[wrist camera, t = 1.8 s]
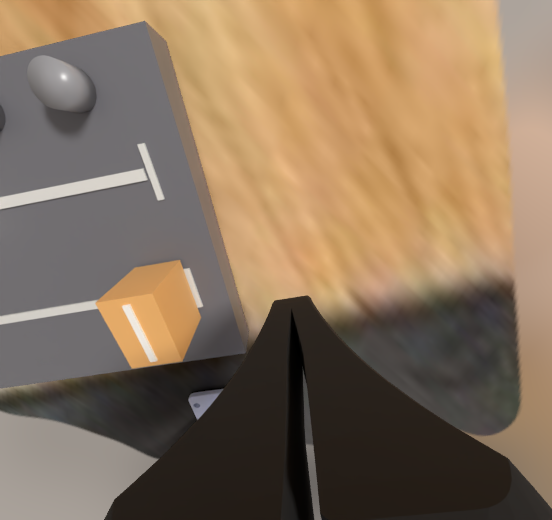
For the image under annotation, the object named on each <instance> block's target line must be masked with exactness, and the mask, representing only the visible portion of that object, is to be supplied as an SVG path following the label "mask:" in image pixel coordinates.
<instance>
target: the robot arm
mask: <svg viewBox="0 0 552 520" xmlns="http://www.w3.org/2000/svg"><path fill="white" fill-rule="evenodd" d="M302 366H303V368H302ZM303 370H304V375H305V379H306V383H307V389H308V398H309V407H310V416H311V425H312V435H313V444H314V453H315V463H316V473H317V482H318V494H319V505H320V514H321V518H322V520H552V509H551V508H550V506H549V505H548V504H547V503H546V501H545V500H544V499H543V498H542V497H541V496H540V494H539V493H538V492H537V491H536V490H535V488H534V487H533V486H532V485H531V484H530V483H529V482H528V481H527V480H526V478H525V477H524V476H523V475H522V474H521V473H520V472H519V470H518V469H517V468H516V467H515V466H514V465H513V464H512V463H511V461H510V460H509V459H508V458H506V457H505V456H503V455H501V454H500V453H498V452H496V451H494V450H493V449H491V448H489V447H488V446H486V445H484V444H482V443H481V442H479V441H477V440H475V439H474V438H472V437H471V436H469V435H467V434H465V433H464V432H462V431H460V430H459V429H457V428H455V427H454V426H452V425H450V424H449V423H447V422H446V421H444V420H443V419H441V418H440V417H438V416H437V415H435V414H434V413H432V412H431V411H429V410H427V409H426V408H424V407H423V406H421V405H420V404H419V403H417V402H416V401H414V400H413V399H412V398H410V397H409V396H408V395H406V394H405V393H404V392H402V391H401V390H399V389H398V388H397V387H395V386H394V385H393V384H391V383H390V382H388V381H387V380H386V379H385V378H383V377H382V376H381V375H380V374H379V373H377V372H376V371H375V370H374V369H372V368H371V367H370V366H369V365H368V364H367V363H366V362H364V361H363V360H362V359H361V358H360V357H359V356H358V355H357V354H356V353H355V352H354V351H353V350H352V349H351V348H349V347H348V345H347V344H346V343H345V342H344V341H343V340H342V339H341V338H340V337H339V336H338V335H337V334H336V333H335V332H334V330H333V329H332V328H331V327H330V326H329V324H328V323H327V322H326V321H325V319H324V318H323V317H322V316H321V314H320V313H319V311H318V310H317V308H316V307H315V305H314V304H313V302H312V300H311V298H310V297H309V296H301V297H295V298H288V299H282V300H275V301H274V302H273V304H272V307H271V309H270V312H269V314H268V317H267V319H266V321H265V323H264V325H263V327H262V329H261V331H260V333H259V335H258V337H257V339H256V341H255V343H254V344H253V346H252V348H251V349H250V351H249V353H248V354H247V356H246V358H245V359H244V361H243V362H242V364H241V366H240V367H239V369H238V370H237V371H236V373H235V374H234V376H233V377H232V378H231V380H230V381H229V383H228V384H227V385H226V387H225V388H224V389H218V390H211V391H203V392H196V393H192V394H190V396H189V399H188V401H189V403H190V405H191V407H192V410H193V412H194V414H195V416H196V418H197V421H196V422H195V423H194V424H193V425H192V426H191V427H190V428H189V430H188V431H187V432H186V433H185V434H184V435H183V436H182V437H181V438H180V439H179V440H178V441H177V442H176V443H175V444H174V445H173V446H172V447H171V448H170V449H169V450H168V451H167V452H166V453H165V454H164V455H163V456H162V457H161V458H160V459H159V460H158V461H157V462H156V463H154V464H153V465H152V466H151V467H150V468H149V469H148V470H147V471H146V472H145V473H144V474H142V475H141V476H140V477H139V478H138V479H137V480H136V481H135V482H134V483H133V484H131V485H130V486H129V487H128V488H127V489H126V490H125V491H124V492H123V493H121V494H120V495H119V496H118V497H117V498H116V499H115V500H114V502H113V504H112V506H111V508H110V509H109V511H108V513H107V516H106V517H105V519H104V520H314V514H313V506H312V497H311V489H310V480H309V471H308V462H307V453H306V444H305V429H304V398H303Z"/></svg>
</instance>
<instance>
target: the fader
mask: <svg viewBox="0 0 552 520" xmlns="http://www.w3.org/2000/svg"><path fill="white" fill-rule="evenodd" d="M95 304H96V306H97V308H98V309H99V311H100V313H101V315H102V316H103V318H104V320H105V322H106V324H107V325H108V327H109V329H110V331H111V332H112V334H113V336H114V338H115V340H116V341H117V343H118V345H119V347H120V349H121V350H122V352H123V354H124V356H125V357H126V359H127V361H128V363H129V365H130V366H131V368H132V369H133V368H140V367H147V366H154V365H161V364H168V363H175V362H182V361H183V359H184V357H185V354H186V352H187V350H188V347H189V345H190V343H191V340H192V338H193V335H194V333H195V331H196V328H197V326H198V324H199V321H200V319H201V316H200V313H199V310H198V308H197V305H196V302H195V299H194V297H193V294H192V291H191V289H190V286H189V283H188V281H187V278H186V275H185V272H184V270H183V267H182V264H181V262H180V260H176V261H170V262H164V263H159V264H153V265H147V266H141V267H136V268H134V269H133V270H132V271H130V272H129V273H128V274H127V275H126V276H125V277H124V278H123V279H121V280H120V281H119V282H118V283H117V284H116V285H115V286H114V287H112V288H111V289H110V290H109V291H108V292H107V293H106V294H104V295H103V296H102V297H101V298H100V299H99V300H98V301H97V302H95Z"/></svg>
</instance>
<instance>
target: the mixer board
mask: <svg viewBox="0 0 552 520" xmlns="http://www.w3.org/2000/svg"><path fill="white" fill-rule="evenodd" d="M176 260H180V262H181V264H182V267H183V270H184V272H185V275H186V278H187V281H188V283H189V286H190V289H191V291H192V294H193V297H194V299H195V302H196V305H197V308H198V310H199V313H200V316H201V319H200V321H199V324H198V326H197V328H196V331H195V333H194V335H193V338H192V340H191V343H190V345H189V347H188V350H187V352H186V354H185V357H184V359H183V361H182V362H188V361H194V360H201V359H208V358H215V357H222V356H229V355H236V354H243V353H246V349H247V341H248V334H249V330H248V327H247V323H246V320H245V316H244V313H243V309H242V306H241V302H240V299H239V295H238V291H237V288H236V284H235V281H234V277H233V274H232V270H231V267H230V263H229V260H228V256H227V253H226V249H225V246H224V242H223V239H222V235H221V232H220V228H219V225H218V221H217V218H216V214H215V211H214V207H213V204H212V200H211V197H210V193H209V190H208V186H207V183H206V179H205V176H204V172H203V169H202V165H201V162H200V158H199V155H198V151H197V148H196V144H195V140H194V137H193V133H192V130H191V126H190V123H189V119H188V116H187V112H186V109H185V105H184V102H183V98H182V95H181V91H180V88H179V84H178V81H177V77H176V74H175V70H174V67H173V63H172V60H171V56H170V53H169V49H168V46H167V42H166V40H164V39H163V38H162V37H161V36H160V35H159V34H158V33H157V32H156V31H155V30H154V29H153V28H152V27H151V26H150V25H149V24H148V23H146V22H145V21H143V22H139V23H135V24H131V25H127V26H123V27H118V28H114V29H110V30H106V31H102V32H98V33H94V34H90V35H86V36H82V37H78V38H74V39H69V40H65V41H61V42H57V43H53V44H49V45H45V46H41V47H37V48H33V49H29V50H25V51H20V52H16V53H12V54H8V55H4V56H0V388H7V387H14V386H21V385H28V384H35V383H42V382H49V381H56V380H63V379H70V378H77V377H83V376H90V375H97V374H104V373H111V372H118V371H125V370H132V368H131V366H130V365H129V363H128V361H127V359H126V357H125V356H124V354H123V352H122V350H121V349H120V347H119V345H118V343H117V341H116V340H115V338H114V336H113V334H112V332H111V331H110V329H109V327H108V325H107V324H106V322H105V320H104V318H103V316H102V315H101V313H100V311H99V309H98V308H97V306H96V304H95V302H97V301H98V300H99V299H100V298H101V297H102V296H103V295H104V294H106V293H107V292H108V291H109V290H110V289H111V288H112V287H114V286H115V285H116V284H117V283H118V282H119V281H120V280H121V279H123V278H124V277H125V276H126V275H127V274H128V273H129V272H130V271H132V270H133V269H134V268H136V267H141V266H147V265H153V264H159V263H164V262H170V261H176ZM175 363H181V362H175ZM168 364H174V363H168ZM161 365H167V364H161ZM154 366H160V365H154ZM147 367H153V366H147ZM140 368H146V367H140ZM133 369H139V368H133Z"/></svg>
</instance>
